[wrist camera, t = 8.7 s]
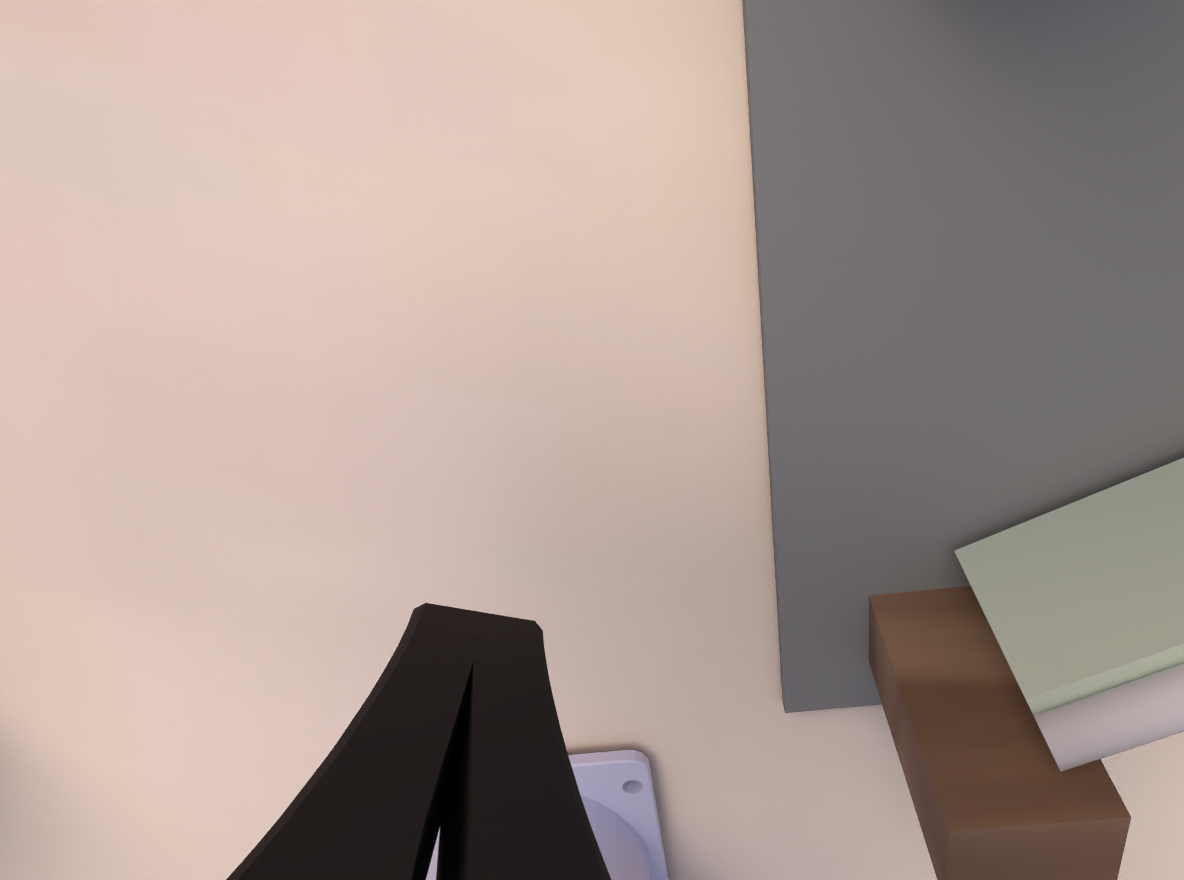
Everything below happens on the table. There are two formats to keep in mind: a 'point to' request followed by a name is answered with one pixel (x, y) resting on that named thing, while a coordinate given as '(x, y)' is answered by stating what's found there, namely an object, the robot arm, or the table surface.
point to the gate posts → (984, 751)
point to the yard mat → (955, 287)
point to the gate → (1093, 614)
